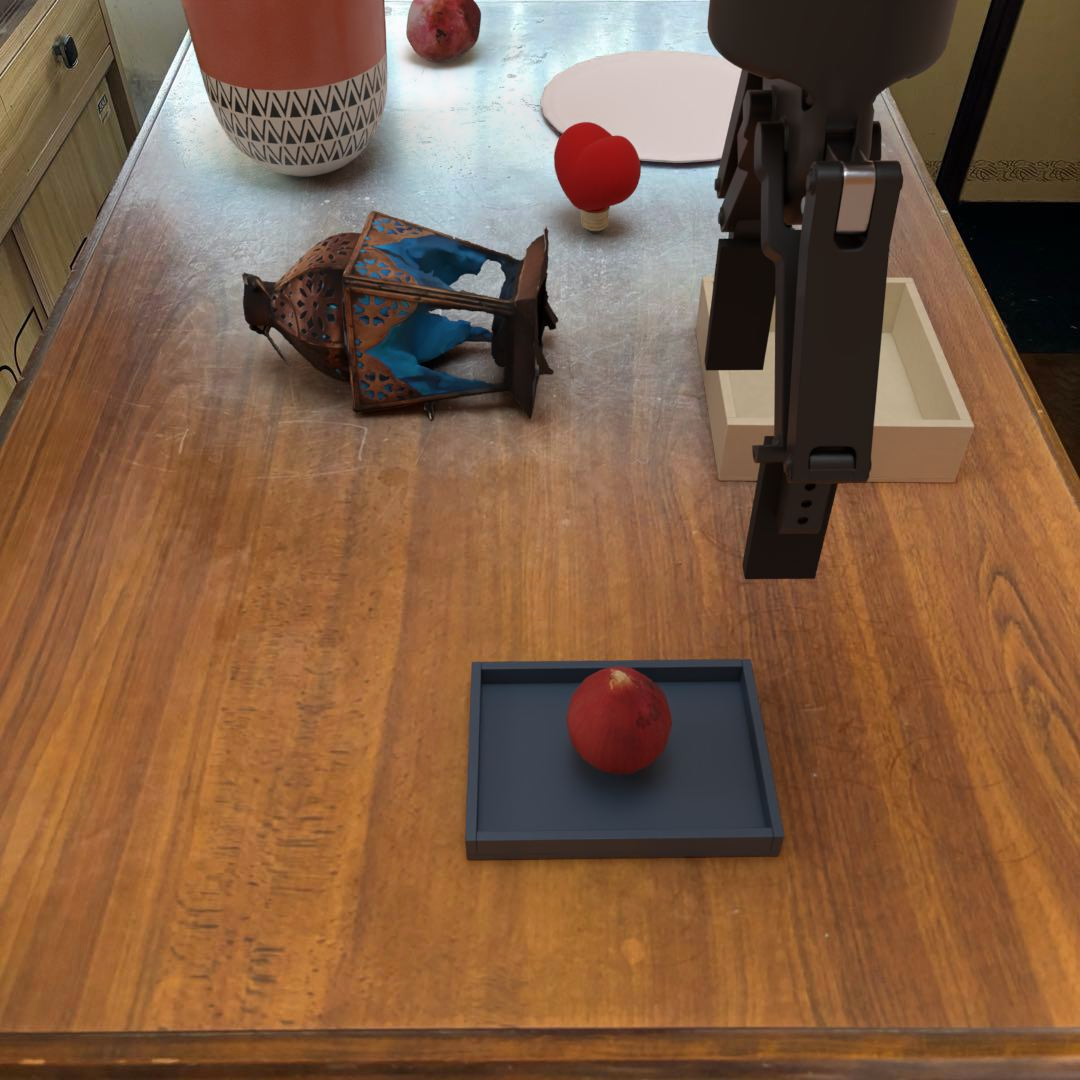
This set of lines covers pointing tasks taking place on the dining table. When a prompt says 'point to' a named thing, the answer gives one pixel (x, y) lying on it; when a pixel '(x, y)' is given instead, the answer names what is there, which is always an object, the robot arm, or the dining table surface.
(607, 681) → the onion
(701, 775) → the tray
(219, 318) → the dining table surface
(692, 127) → the plate
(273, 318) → the lantern
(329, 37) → the planter
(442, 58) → the fruit
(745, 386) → the beige open rectangular box
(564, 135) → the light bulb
